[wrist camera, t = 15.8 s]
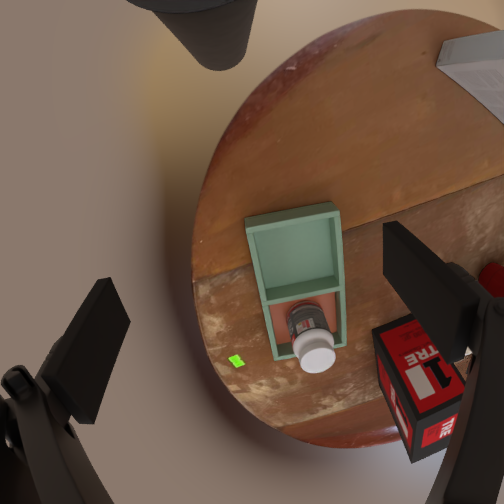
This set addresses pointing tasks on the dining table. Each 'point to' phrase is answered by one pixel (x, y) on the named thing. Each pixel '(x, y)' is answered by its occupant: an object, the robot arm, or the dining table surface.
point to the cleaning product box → (417, 386)
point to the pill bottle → (310, 337)
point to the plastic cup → (493, 279)
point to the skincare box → (477, 67)
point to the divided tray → (299, 268)
